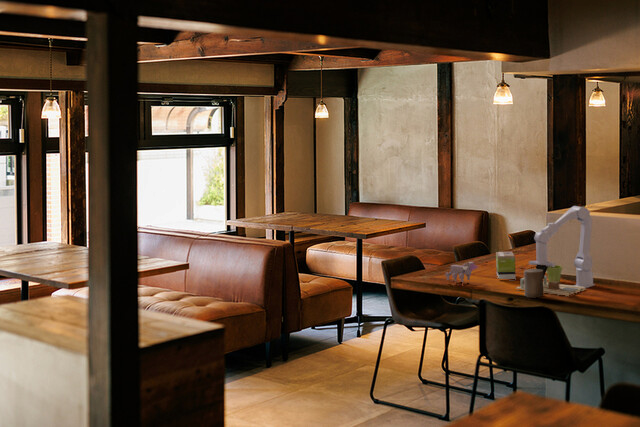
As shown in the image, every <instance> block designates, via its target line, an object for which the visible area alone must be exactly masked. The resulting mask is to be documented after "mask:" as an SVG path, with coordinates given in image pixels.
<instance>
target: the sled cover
mask: <svg viewBox="0 0 640 427" xmlns="http://www.w3.org/2000/svg"><path fill="white" fill-rule="evenodd" d="M519 282H520V287H524V277H522V278H520V281H519ZM543 282H544V284H545V285H546V284H547V283H548V275H545V276H544V279H543Z"/></svg>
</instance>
